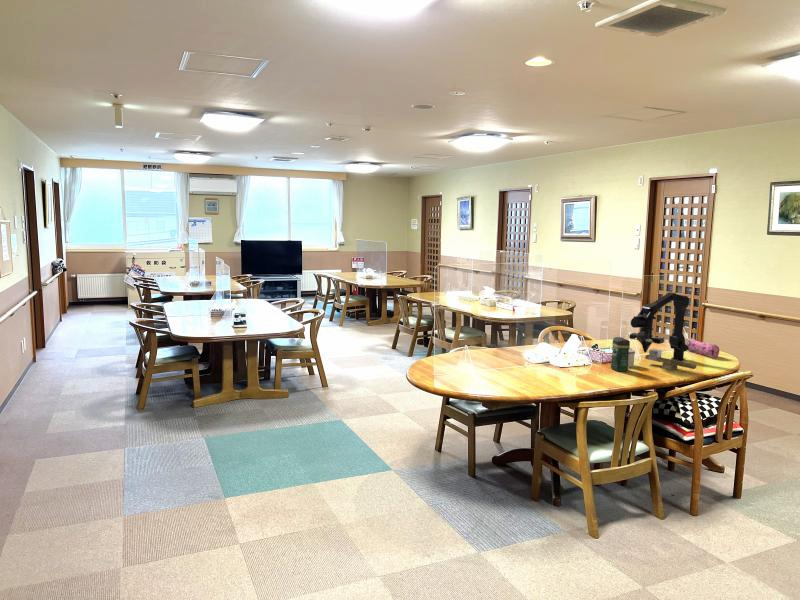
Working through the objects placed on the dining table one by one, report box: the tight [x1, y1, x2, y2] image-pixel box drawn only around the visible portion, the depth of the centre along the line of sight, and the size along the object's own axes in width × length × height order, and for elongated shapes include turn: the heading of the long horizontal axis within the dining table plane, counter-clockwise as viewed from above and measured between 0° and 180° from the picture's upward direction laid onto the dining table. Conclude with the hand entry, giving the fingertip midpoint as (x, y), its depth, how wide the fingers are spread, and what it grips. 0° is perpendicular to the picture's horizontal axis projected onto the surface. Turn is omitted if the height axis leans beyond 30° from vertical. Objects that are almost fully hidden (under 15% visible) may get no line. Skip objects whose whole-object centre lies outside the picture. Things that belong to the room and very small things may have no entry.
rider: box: [648, 348, 663, 362], centre depth 346 cm, size 5×5×6 cm
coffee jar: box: [610, 336, 631, 373], centre depth 334 cm, size 10×8×19 cm
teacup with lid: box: [628, 347, 636, 368], centre depth 344 cm, size 12×9×12 cm
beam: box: [644, 354, 698, 371], centre depth 340 cm, size 6×28×5 cm, turn 42°
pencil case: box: [685, 337, 720, 359], centre depth 374 cm, size 21×9×9 cm, turn 17°
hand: (645, 352), depth 350 cm, fingers closed
